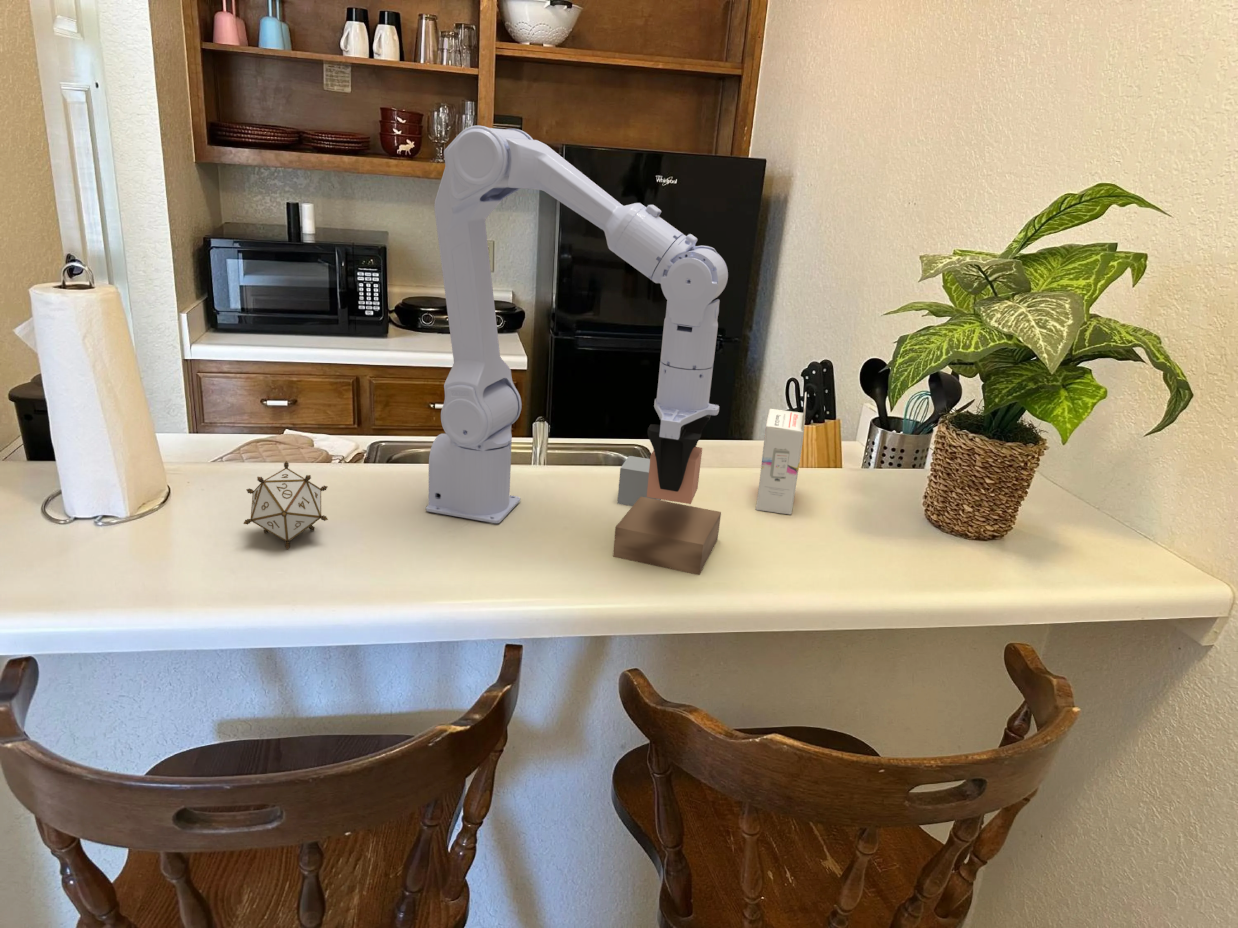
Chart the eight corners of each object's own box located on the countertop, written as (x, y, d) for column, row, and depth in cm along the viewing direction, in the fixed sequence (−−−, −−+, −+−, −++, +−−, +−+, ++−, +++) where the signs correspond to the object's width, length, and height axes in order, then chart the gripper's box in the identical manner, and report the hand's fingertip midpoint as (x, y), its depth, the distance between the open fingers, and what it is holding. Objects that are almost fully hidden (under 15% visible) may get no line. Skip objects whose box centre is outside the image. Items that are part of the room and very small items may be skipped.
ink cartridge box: (757, 487, 122) (771, 386, 117) (793, 492, 122) (809, 390, 116) (753, 510, 114) (769, 402, 109) (791, 516, 114) (809, 407, 109)
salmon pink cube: (646, 496, 98) (650, 454, 96) (655, 481, 102) (659, 441, 100) (690, 504, 97) (695, 461, 95) (697, 488, 101) (702, 447, 99)
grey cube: (617, 504, 113) (620, 468, 111) (626, 490, 118) (629, 455, 116) (655, 510, 112) (658, 474, 110) (662, 496, 117) (666, 461, 115)
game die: (309, 567, 98) (356, 511, 94) (237, 563, 92) (285, 502, 88) (288, 506, 103) (332, 450, 99) (217, 497, 96) (262, 437, 92)
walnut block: (612, 559, 99) (615, 527, 97) (637, 526, 108) (640, 496, 106) (699, 577, 96) (703, 544, 95) (717, 542, 105) (721, 511, 104)
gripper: (714, 384, 87) (699, 510, 91) (731, 354, 100) (717, 465, 105) (645, 374, 88) (633, 499, 93) (670, 346, 101) (659, 456, 106)
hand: (674, 480), depth 99 cm, fingers closed on salmon pink cube, 5 cm apart
